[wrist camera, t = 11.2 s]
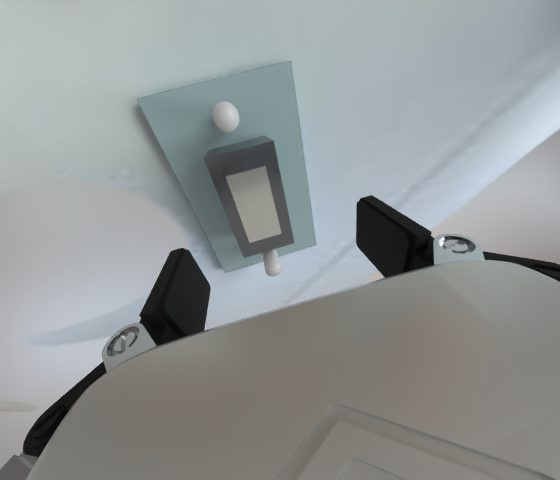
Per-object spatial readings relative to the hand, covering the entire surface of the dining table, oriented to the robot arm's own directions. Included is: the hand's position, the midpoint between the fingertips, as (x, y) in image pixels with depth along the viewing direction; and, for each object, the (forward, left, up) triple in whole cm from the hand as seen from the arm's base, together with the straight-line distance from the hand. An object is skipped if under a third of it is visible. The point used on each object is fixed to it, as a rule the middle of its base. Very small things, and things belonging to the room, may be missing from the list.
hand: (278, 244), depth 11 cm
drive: (+1, 0, -11) cm, 11 cm away
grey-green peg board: (+1, 0, -12) cm, 12 cm away
